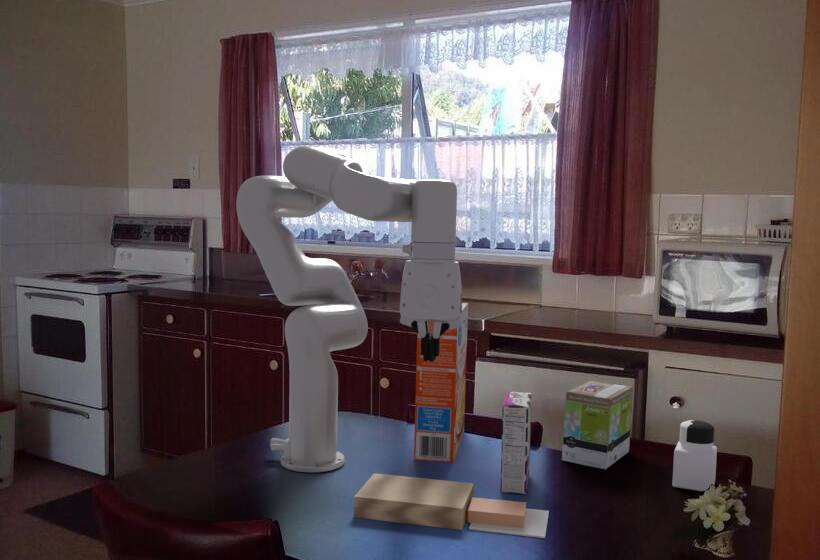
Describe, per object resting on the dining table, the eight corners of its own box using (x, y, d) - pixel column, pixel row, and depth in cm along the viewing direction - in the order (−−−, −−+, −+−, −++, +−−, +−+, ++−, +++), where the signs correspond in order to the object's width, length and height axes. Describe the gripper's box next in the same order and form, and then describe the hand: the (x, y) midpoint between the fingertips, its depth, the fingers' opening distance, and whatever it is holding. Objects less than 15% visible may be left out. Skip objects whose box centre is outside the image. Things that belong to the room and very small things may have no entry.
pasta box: (453, 462, 157) (457, 315, 155) (413, 459, 158) (417, 313, 156) (464, 432, 180) (468, 303, 177) (429, 429, 181) (433, 301, 178)
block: (467, 522, 126) (468, 510, 126) (472, 508, 132) (472, 497, 132) (523, 528, 124) (524, 515, 124) (525, 514, 130) (526, 502, 130)
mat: (468, 529, 124) (468, 527, 124) (478, 504, 135) (478, 503, 134) (545, 538, 121) (545, 536, 121) (548, 512, 132) (548, 510, 132)
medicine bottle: (715, 482, 150) (718, 420, 149) (712, 493, 143) (716, 429, 142) (676, 475, 153) (679, 415, 152) (672, 487, 146) (675, 424, 145)
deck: (353, 517, 128) (354, 496, 127) (373, 492, 139) (374, 473, 139) (462, 529, 124) (462, 508, 123) (473, 503, 135) (473, 483, 135)
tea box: (608, 471, 155) (612, 397, 153) (560, 461, 160) (563, 390, 159) (630, 452, 167) (633, 384, 166) (585, 444, 173) (588, 378, 171)
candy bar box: (503, 473, 151) (506, 390, 150) (529, 475, 151) (532, 392, 149) (498, 493, 141) (501, 404, 139) (526, 495, 140) (530, 406, 138)
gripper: (384, 252, 129) (382, 361, 131) (473, 255, 126) (469, 367, 128) (395, 250, 137) (393, 353, 138) (480, 253, 133) (476, 359, 135)
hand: (429, 359), depth 133 cm, fingers closed
